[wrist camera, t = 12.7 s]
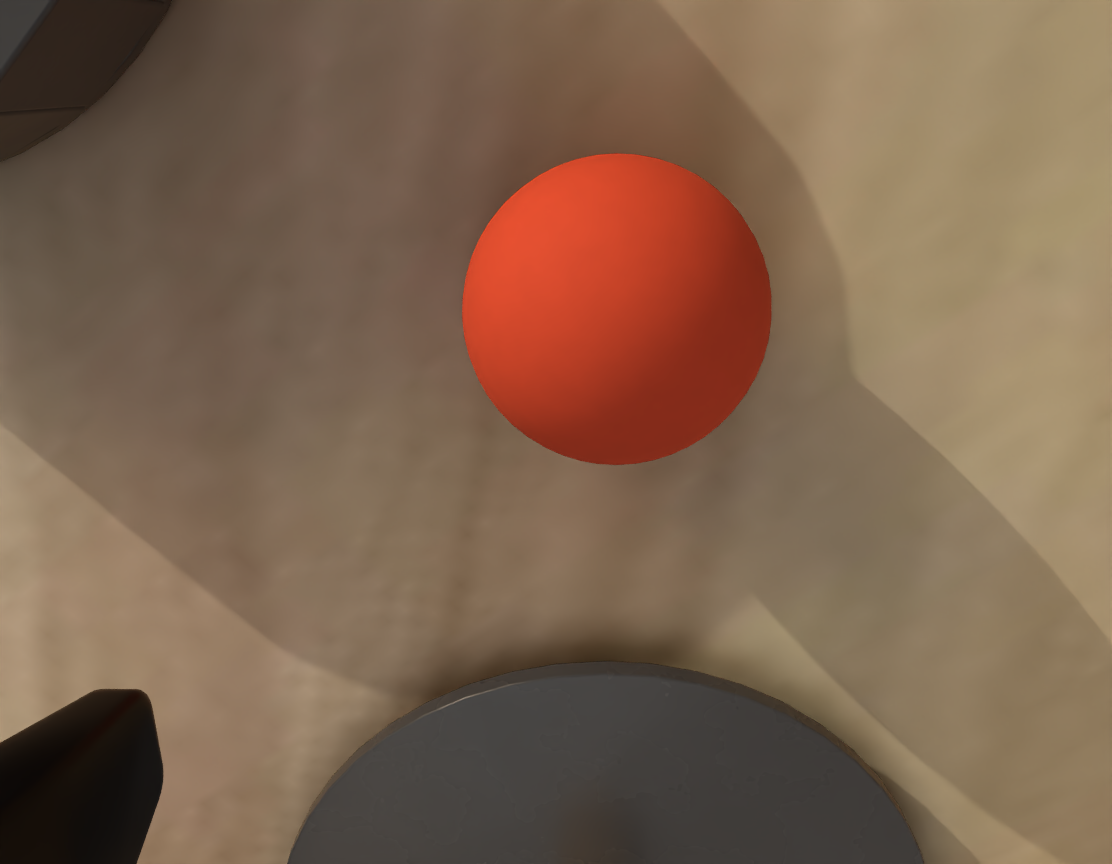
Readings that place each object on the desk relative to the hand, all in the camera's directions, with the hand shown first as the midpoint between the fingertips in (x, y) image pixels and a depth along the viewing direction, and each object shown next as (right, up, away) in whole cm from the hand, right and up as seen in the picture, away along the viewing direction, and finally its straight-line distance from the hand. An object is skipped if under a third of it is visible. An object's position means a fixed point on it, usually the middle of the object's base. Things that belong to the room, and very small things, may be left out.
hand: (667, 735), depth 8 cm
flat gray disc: (0, -9, +15) cm, 17 cm away
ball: (0, +5, +8) cm, 9 cm away
